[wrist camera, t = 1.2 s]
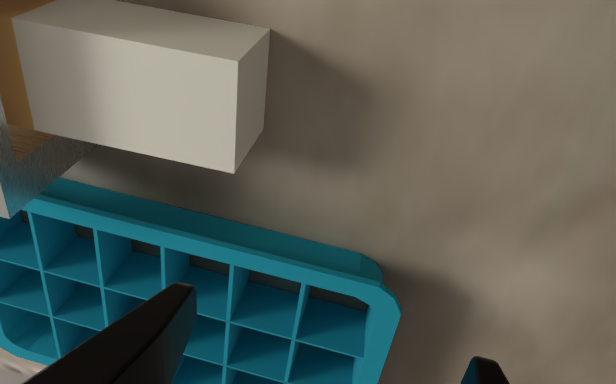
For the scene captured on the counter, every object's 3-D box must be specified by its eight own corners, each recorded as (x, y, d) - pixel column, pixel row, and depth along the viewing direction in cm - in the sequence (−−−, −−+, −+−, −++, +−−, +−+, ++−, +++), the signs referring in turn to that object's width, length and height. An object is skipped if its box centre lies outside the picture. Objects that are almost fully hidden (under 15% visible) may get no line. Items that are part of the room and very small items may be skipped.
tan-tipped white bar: (270, 28, 19) (238, 61, 16) (263, 128, 21) (234, 173, 18) (2, -21, 20) (-73, 1, 17) (23, 79, 22) (-40, 114, 19)
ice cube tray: (360, 404, 29) (352, 455, 27) (30, 310, 31) (-6, 350, 29) (412, 246, 23) (407, 294, 20) (-11, 141, 25) (-61, 174, 22)
